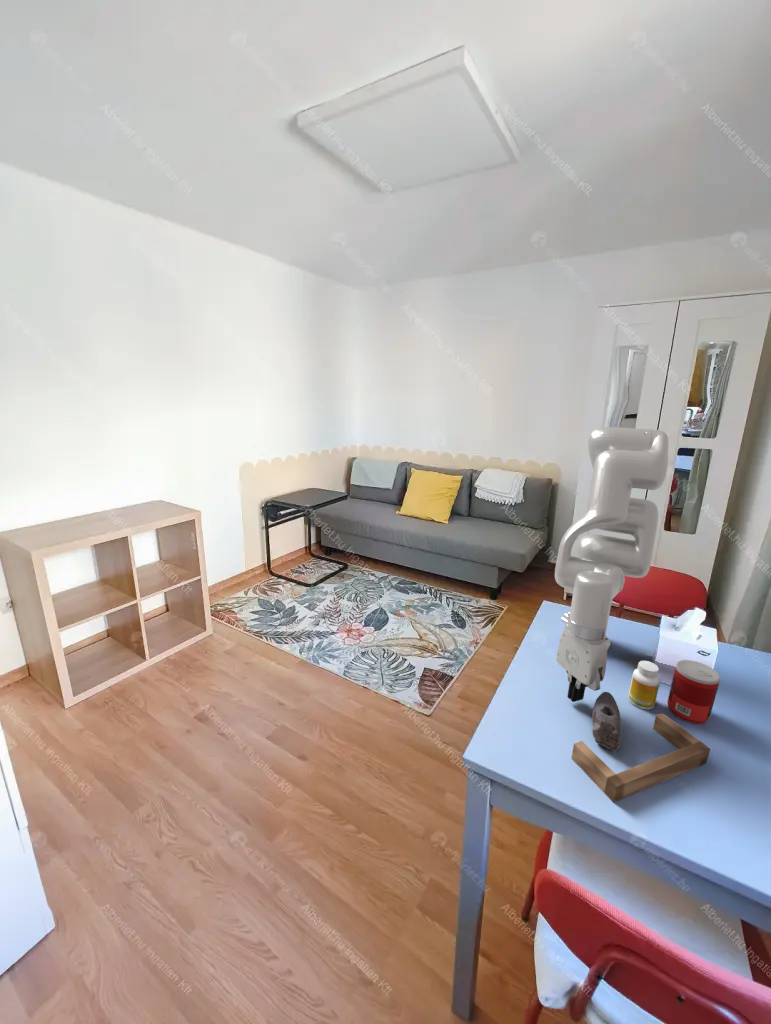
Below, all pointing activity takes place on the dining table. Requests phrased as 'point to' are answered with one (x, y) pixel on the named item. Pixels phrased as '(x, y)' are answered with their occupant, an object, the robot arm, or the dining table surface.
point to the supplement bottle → (644, 685)
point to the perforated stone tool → (606, 722)
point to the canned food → (693, 691)
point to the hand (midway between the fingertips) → (575, 698)
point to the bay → (647, 773)
